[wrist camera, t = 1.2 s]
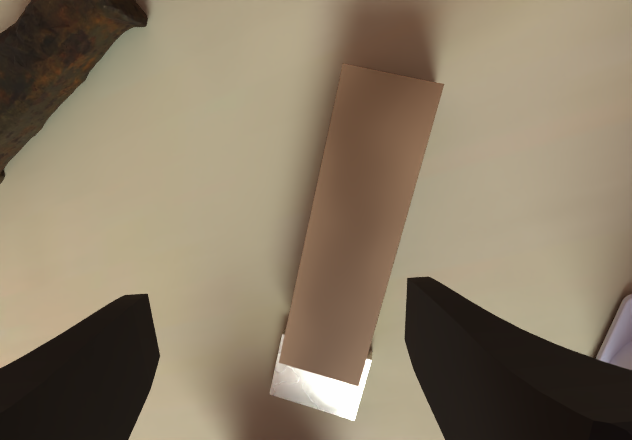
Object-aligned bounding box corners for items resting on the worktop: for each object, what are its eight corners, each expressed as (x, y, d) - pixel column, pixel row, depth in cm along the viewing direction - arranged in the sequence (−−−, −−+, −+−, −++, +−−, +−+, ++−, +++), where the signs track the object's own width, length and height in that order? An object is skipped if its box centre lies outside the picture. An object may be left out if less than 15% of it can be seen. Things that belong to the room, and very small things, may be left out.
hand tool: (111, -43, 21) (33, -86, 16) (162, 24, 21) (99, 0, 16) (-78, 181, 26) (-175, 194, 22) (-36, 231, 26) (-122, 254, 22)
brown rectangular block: (446, 92, 19) (457, 86, 16) (355, 408, 24) (349, 455, 21) (341, 70, 20) (330, 60, 16) (274, 383, 25) (255, 425, 21)
